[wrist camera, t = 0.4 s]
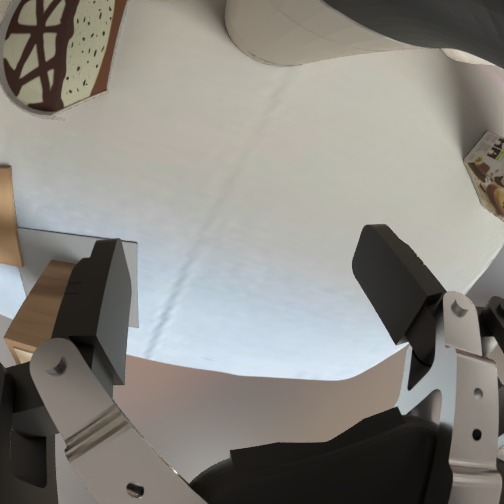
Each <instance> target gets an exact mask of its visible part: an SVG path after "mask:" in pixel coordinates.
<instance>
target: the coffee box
mask: <svg viewBox="0 0 504 504" xmlns="http://www.w3.org/2000/svg"><path fill="white" fill-rule="evenodd" d="M464 164H465V166H466V168H467V170H468V173H469V175H470V177H471V180H472V182H473V184H474V187H475V189H476V192H477V194H478V197H479V200H480V202H481V205H482V207H484V208H485V209H487V210H488V211H489V212H491V213H492V214H494V215H495V216H496V217H498V218H499V219H500V220H502V221H503V222H504V138H502V137H500V136H498V135H495V134H493V133H490V132H486V133H485V134H484V135H483V137H482V138H481V139H480V140H479V142H478V143H477V144H476V145H475V146H474V148H473V149H472V150H471V151H470V152H469V154H468V155H467V156H466V157H465V158H464Z"/></svg>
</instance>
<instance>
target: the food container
mask: <svg viewBox="0 0 504 504" xmlns="http://www.w3.org/2000/svg"><path fill="white" fill-rule="evenodd" d="M128 4H129V0H12V2H11V3H10V5H9V7H8V8H7V10H6V12H5V15H4V17H3V19H2V22H1V24H0V86H1V88H2V90H3V92H4V93H5V95H6V96H7V97H8V98H9V100H10V101H11V102H12V103H13V104H15V105H16V106H17V107H18V108H20V109H21V110H23V111H25V112H27V113H28V114H30V115H32V116H36V117H39V118H43V119H51V120H62V121H65V118H59V117H56V115H58V114H60V113H62V112H64V111H66V110H68V109H70V108H72V107H74V106H77V105H79V104H81V103H83V102H86V101H88V100H90V99H93V98H95V97H98V96H100V95H103V94H105V93H108V91H109V85H110V79H111V74H112V68H113V63H114V58H115V54H116V49H117V45H118V40H119V36H120V32H121V28H122V25H123V21H124V17H125V14H126V10H127V7H128Z"/></svg>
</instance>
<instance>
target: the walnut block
mask: <svg viewBox="0 0 504 504" xmlns="http://www.w3.org/2000/svg"><path fill="white" fill-rule="evenodd" d="M76 265H77V264H74V263H67V262H61V261H55V260H51V261H50V263H49V264H48V266H47V267H46V268H45V270H44V271H43V273H42V274H41V276H40V277H39V279H38V280H37V282H36V283H35V285H34V286H33V288H32V290H31V291H30V293H29V294H28V296H27V297H26V299H25V301H24V302H23V304H22V306H21V307H20V309H19V311H18V312H17V314H16V316H15V318H14V319H13V321H12V323H11V325H10V327H9V328H8V330H7V332H6V334H5V336H4V339H5V341H6V344H7V346H8V348H9V350H10V352H11V354H12V355H13V357H14V359H15V361H16V363H17V365H19V364H22V363H25V362H28V361H30V360H31V357H32V355H33V353H34V351H35V350H36V349H37V348H38V347H39V346H40V345H41V344H42V343H43V342H45V341H47V340H50V339H51V336H52V332H53V328H54V325H55V321H56V318H57V314H58V311H59V308H60V304H61V301H62V298H63V296H64V292H65V289H66V286H67V285H68V280H69V277H70V274H71V272H72V269H73V268H74V267H75V266H76Z"/></svg>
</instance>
